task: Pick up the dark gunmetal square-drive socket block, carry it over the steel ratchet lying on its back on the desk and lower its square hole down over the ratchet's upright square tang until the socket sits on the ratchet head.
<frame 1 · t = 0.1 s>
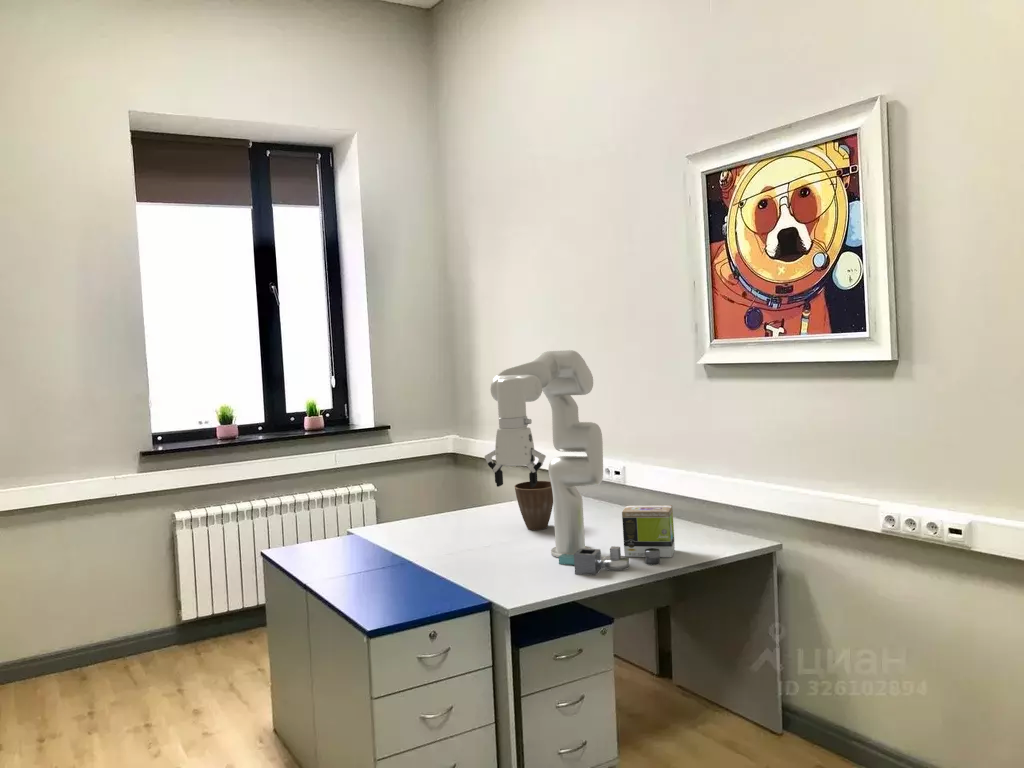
hand: (516, 486, 226), 31 cm above the table, tool pointing down, fingers open, 9 cm apart
tea box: (649, 554, 265), on the table
plant pot: (537, 528, 306), on the table
ratchet: (615, 566, 253), on the table
socket: (588, 571, 250), on the table
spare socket: (652, 563, 255), on the table
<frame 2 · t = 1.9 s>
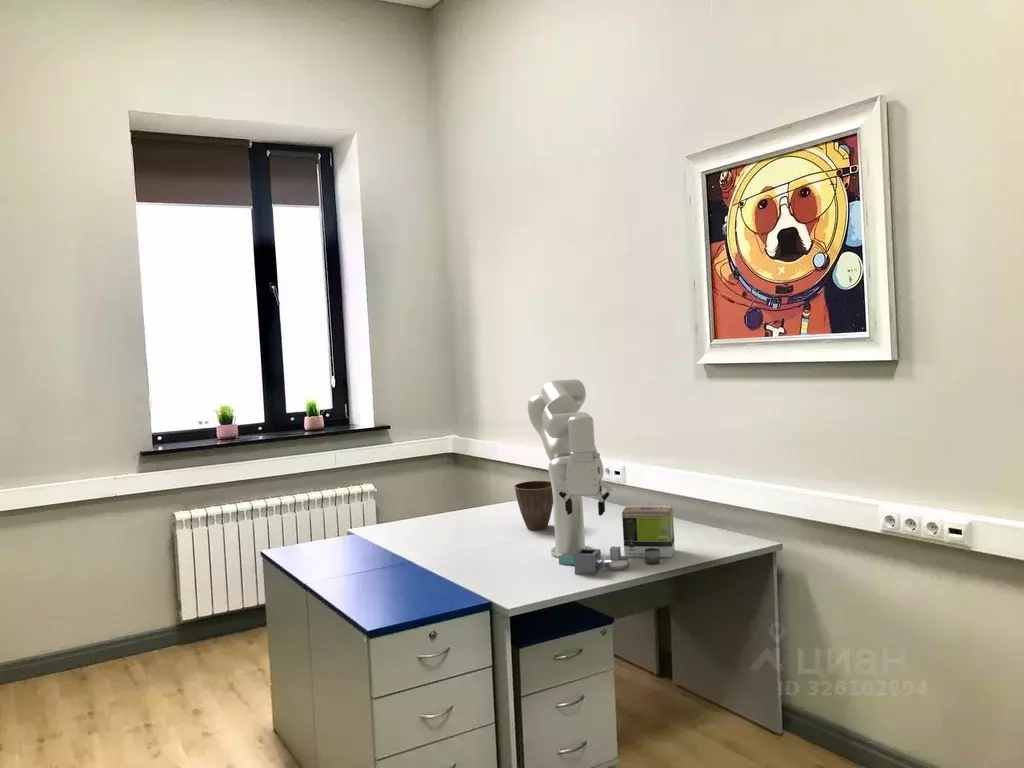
hand: (585, 514, 248), 17 cm above the table, tool pointing down, fingers open, 9 cm apart
nothing on the table moved.
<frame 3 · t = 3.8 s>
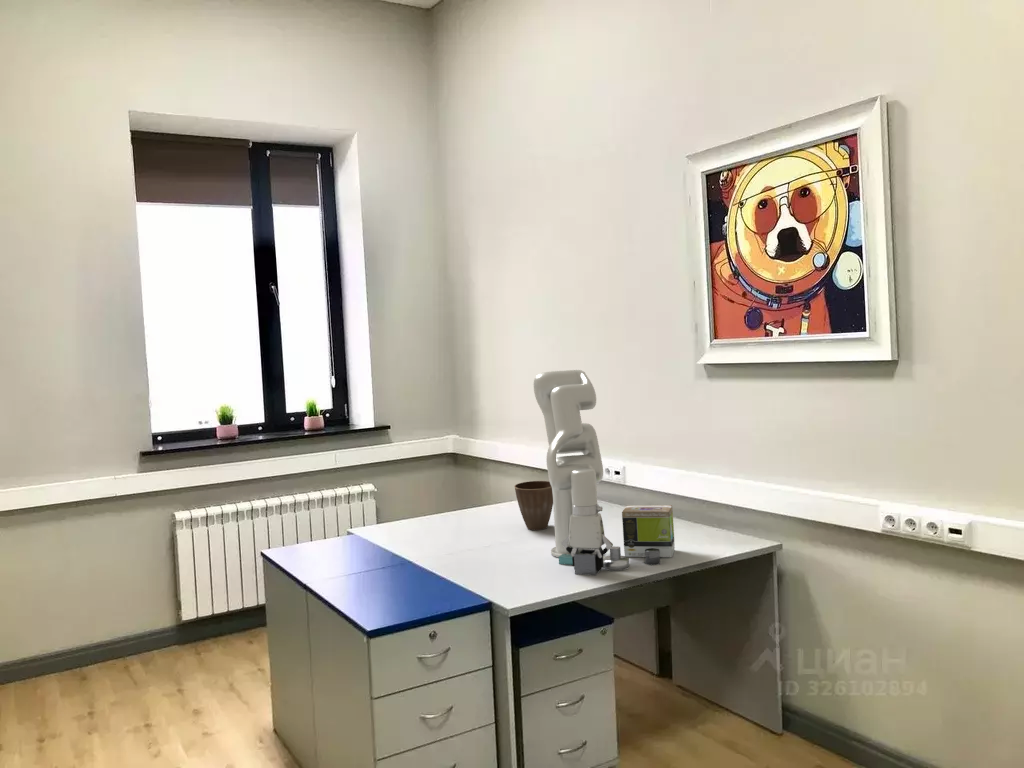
hand: (588, 568, 250), 1 cm above the table, tool pointing down, fingers closed on socket, 6 cm apart
socket: (588, 571, 250), on the table, touching gripper
everything else where it was.
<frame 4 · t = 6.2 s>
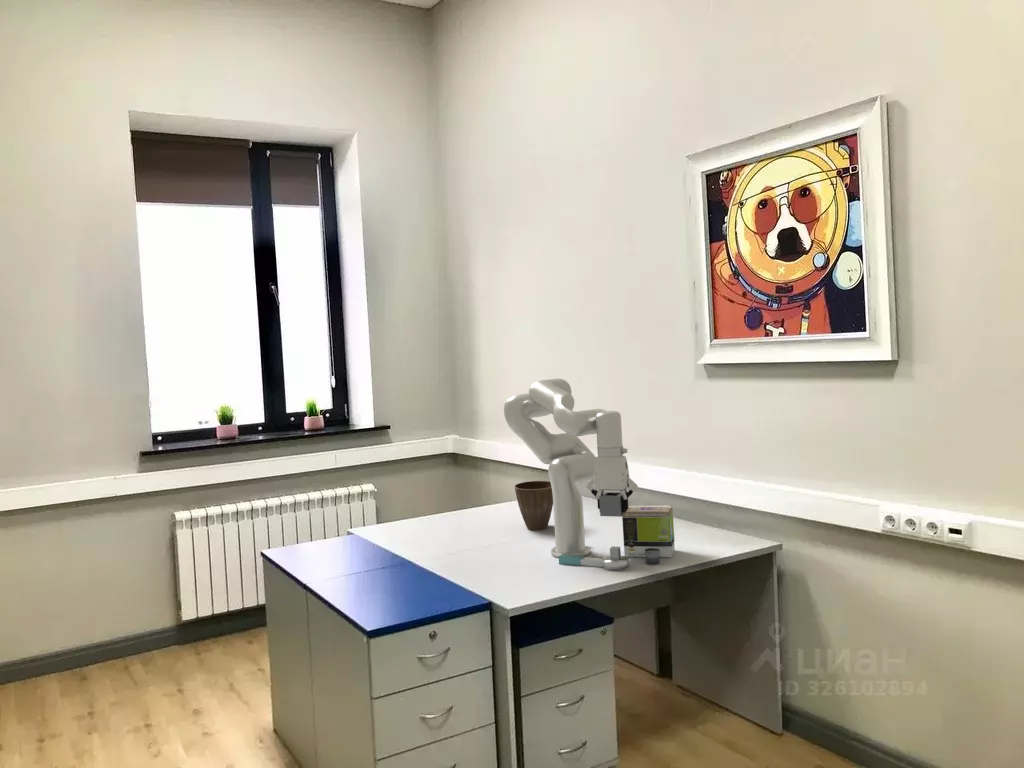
hand: (613, 510, 251), 17 cm above the table, tool pointing down, fingers closed on socket, 6 cm apart
socket: (613, 513, 251), point 16 cm above the table, touching gripper
everything else where it was.
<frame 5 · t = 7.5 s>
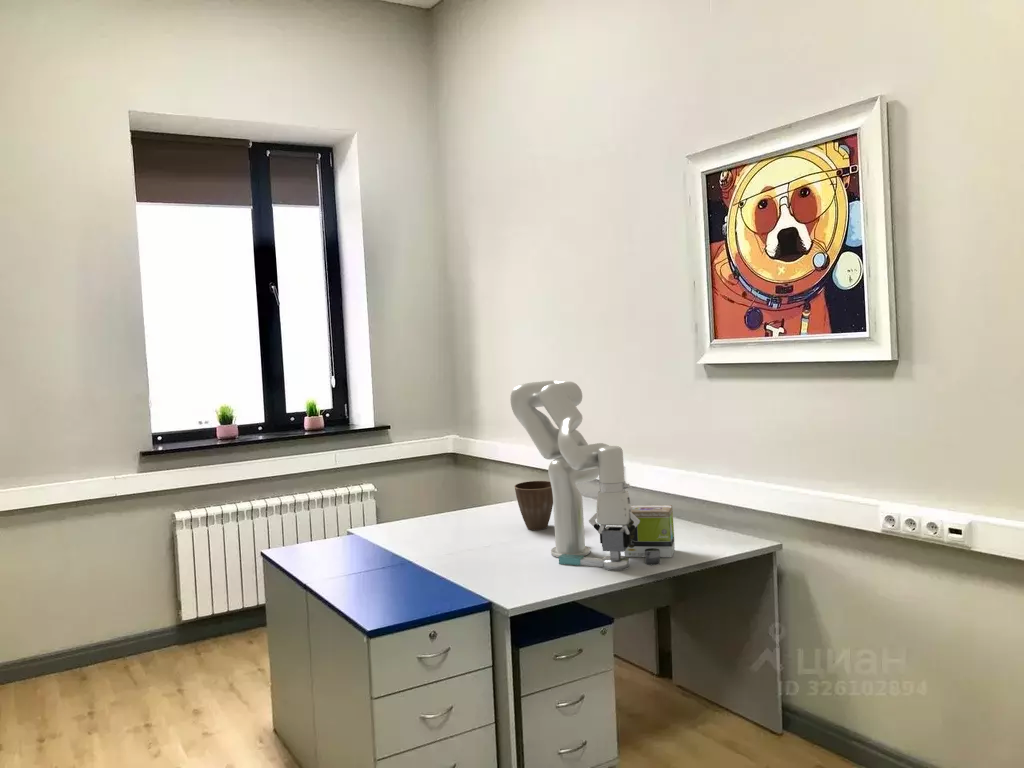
hand: (615, 545, 252), 7 cm above the table, tool pointing down, fingers closed on socket, 6 cm apart
socket: (615, 548, 252), point 6 cm above the table, touching gripper
everything else where it was.
when the fingers open (4 cm above the table, at t = 8.5 s): socket stays where it is, resting on ratchet.
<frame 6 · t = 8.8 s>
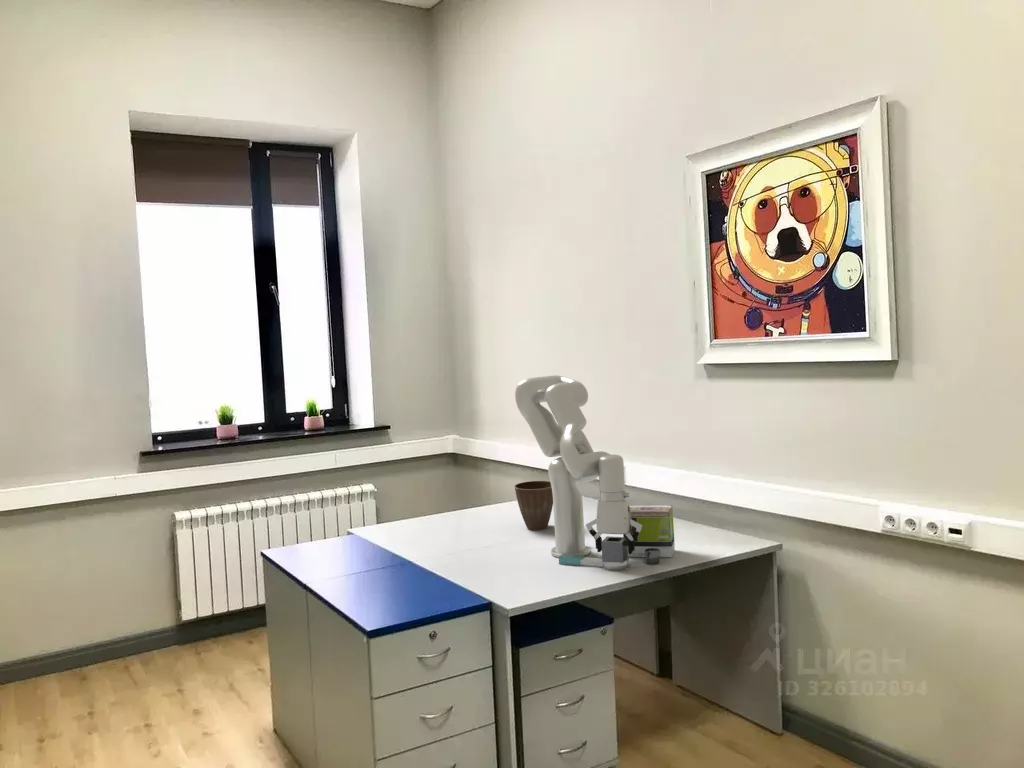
hand: (615, 551, 252), 5 cm above the table, tool pointing down, fingers open, 9 cm apart
socket: (615, 559, 253), point 2 cm above the table, touching ratchet
everything else where it was.
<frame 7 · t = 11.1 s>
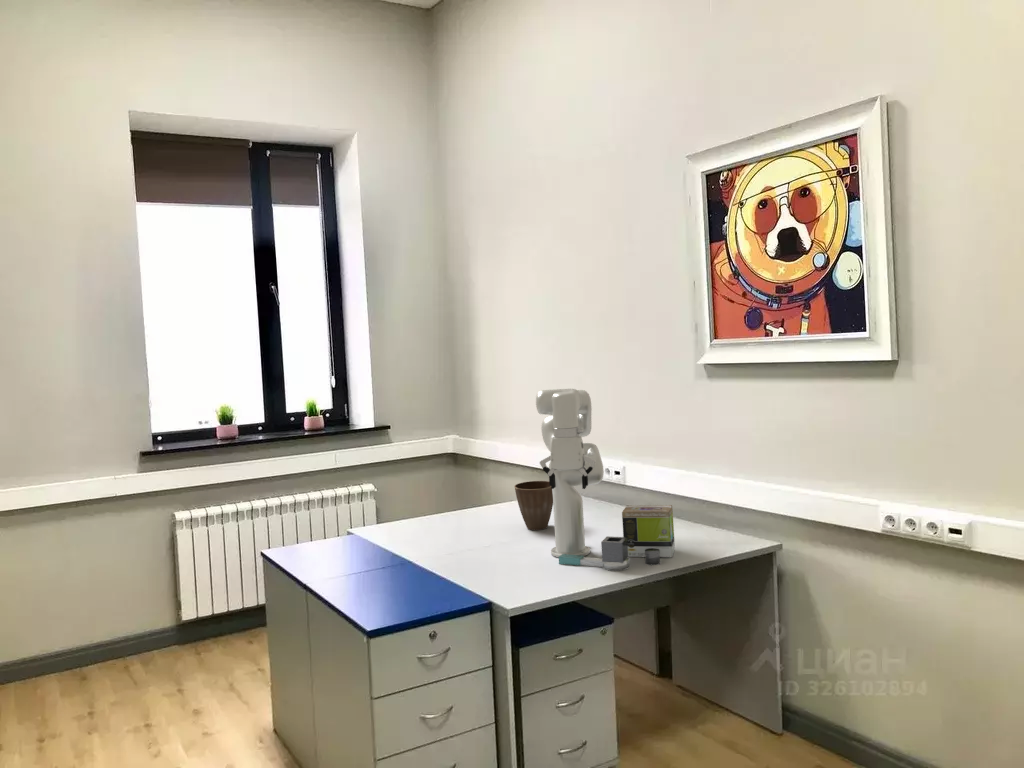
hand: (568, 488, 256), 24 cm above the table, tool pointing down, fingers open, 9 cm apart
nothing on the table moved.
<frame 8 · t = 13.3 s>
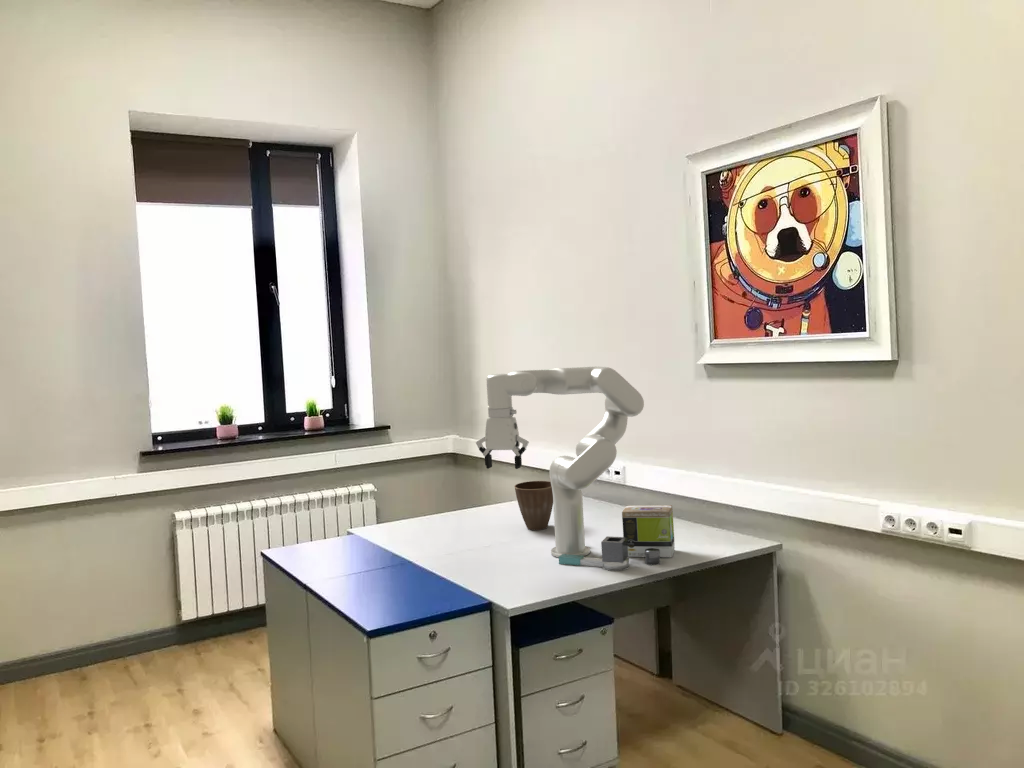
hand: (503, 468, 261), 30 cm above the table, tool pointing down, fingers open, 9 cm apart
nothing on the table moved.
at the end: socket 0.1 cm off-centre on the ratchet, point 2.4 cm above the ratchet's base; socket tilted 0° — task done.
